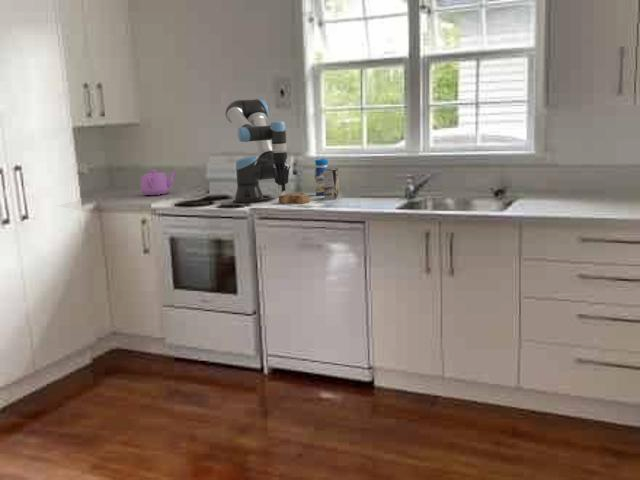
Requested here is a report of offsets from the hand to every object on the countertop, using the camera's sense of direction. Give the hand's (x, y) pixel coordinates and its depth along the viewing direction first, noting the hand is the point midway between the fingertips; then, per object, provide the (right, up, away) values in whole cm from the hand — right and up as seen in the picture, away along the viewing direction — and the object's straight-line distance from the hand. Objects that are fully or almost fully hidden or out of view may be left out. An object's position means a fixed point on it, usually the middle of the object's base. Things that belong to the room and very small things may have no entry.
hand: (282, 197), depth 352 cm
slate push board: (+11, -5, -11) cm, 17 cm away
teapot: (-80, +5, +58) cm, 99 cm away
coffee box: (+26, -2, +1) cm, 26 cm away
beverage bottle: (+21, +1, +15) cm, 26 cm away
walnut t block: (+8, -3, -8) cm, 11 cm away
